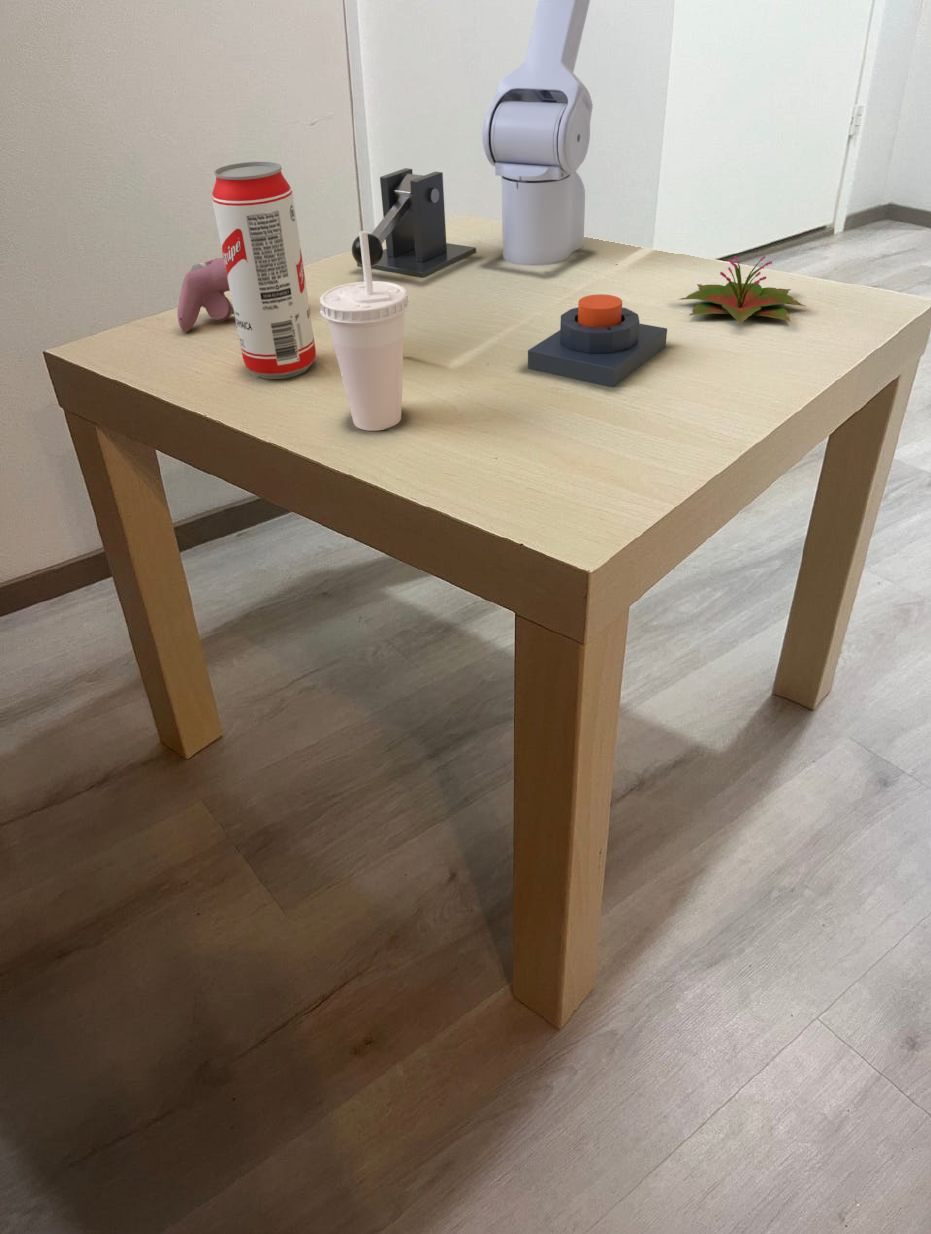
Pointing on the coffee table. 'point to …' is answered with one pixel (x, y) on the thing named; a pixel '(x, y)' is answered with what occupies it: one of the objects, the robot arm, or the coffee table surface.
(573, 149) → the robot arm
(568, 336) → the button box
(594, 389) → the coffee table surface
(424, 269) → the bracket
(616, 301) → the button
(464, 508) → the coffee table surface
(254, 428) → the coffee table surface
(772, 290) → the lily flower
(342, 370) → the smoothie
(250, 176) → the beer can
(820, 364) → the coffee table surface
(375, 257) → the lever
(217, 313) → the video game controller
